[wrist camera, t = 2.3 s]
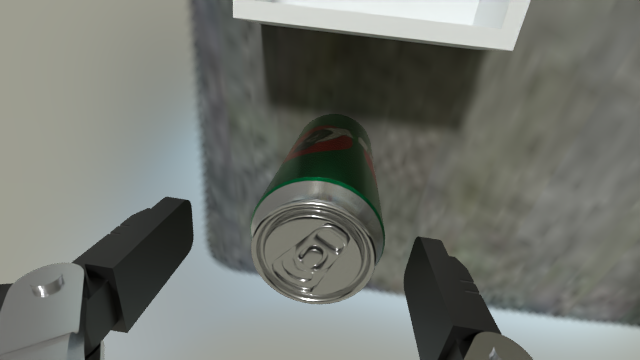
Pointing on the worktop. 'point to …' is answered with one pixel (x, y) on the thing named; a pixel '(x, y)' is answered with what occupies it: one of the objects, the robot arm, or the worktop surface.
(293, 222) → the soda can
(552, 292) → the worktop surface
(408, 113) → the worktop surface
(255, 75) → the worktop surface
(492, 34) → the tote
